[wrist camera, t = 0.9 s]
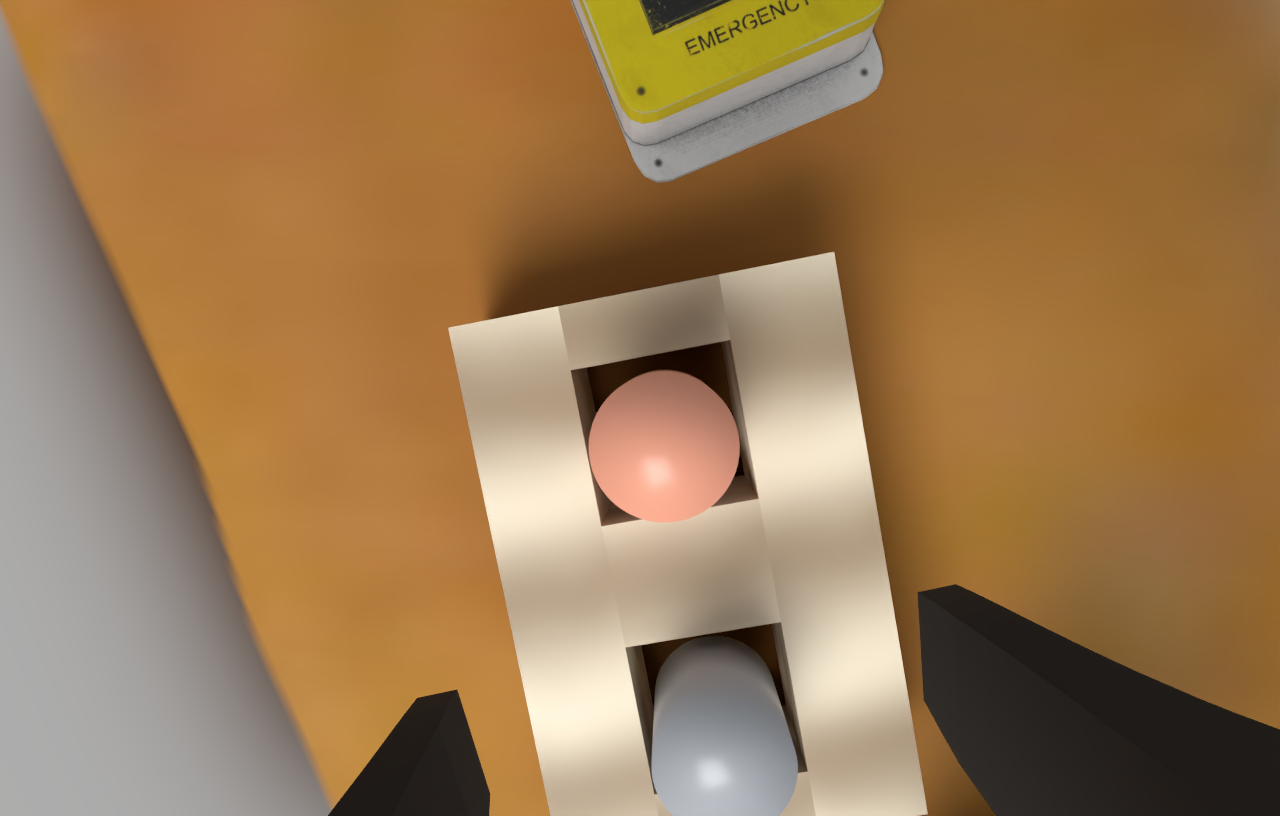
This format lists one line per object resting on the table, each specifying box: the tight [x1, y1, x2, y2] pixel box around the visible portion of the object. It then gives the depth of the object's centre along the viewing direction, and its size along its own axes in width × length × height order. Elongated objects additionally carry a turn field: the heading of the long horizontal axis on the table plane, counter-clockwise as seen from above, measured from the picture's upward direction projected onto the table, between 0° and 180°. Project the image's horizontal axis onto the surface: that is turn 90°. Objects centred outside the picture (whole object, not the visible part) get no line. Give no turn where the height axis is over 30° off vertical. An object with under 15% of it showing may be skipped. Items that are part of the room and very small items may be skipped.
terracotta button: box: [589, 369, 740, 522], centre depth 19 cm, size 4×4×4 cm
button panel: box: [448, 252, 928, 816], centre depth 23 cm, size 18×12×4 cm, turn 11°
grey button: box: [651, 636, 798, 816], centre depth 20 cm, size 4×4×4 cm
